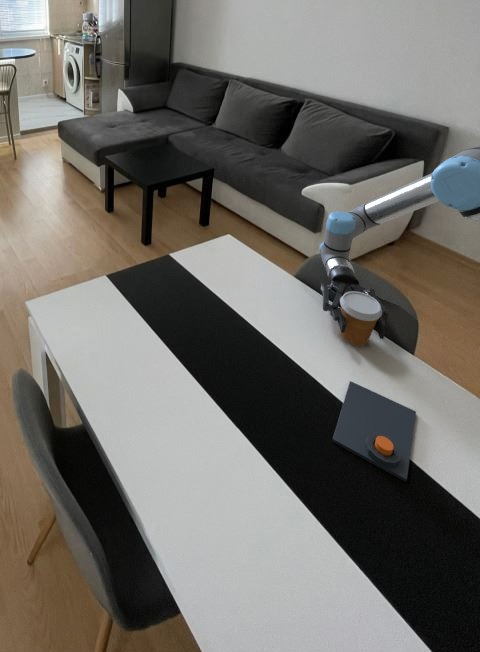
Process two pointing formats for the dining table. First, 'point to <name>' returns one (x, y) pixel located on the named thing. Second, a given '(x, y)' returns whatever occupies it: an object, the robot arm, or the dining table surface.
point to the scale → (376, 429)
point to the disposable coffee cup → (359, 316)
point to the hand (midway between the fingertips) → (362, 331)
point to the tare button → (384, 446)
